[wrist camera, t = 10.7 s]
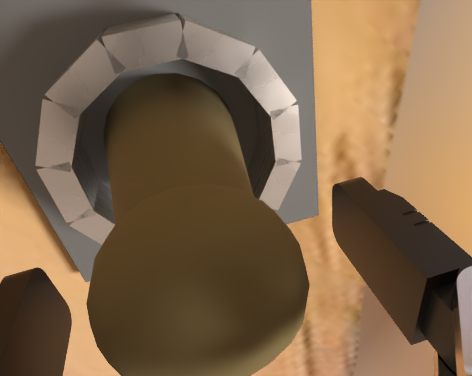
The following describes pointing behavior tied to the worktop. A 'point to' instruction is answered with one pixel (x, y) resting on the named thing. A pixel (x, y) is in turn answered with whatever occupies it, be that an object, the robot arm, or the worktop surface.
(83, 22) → the fitting mat
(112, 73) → the ring collar
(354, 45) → the worktop surface
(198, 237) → the cork
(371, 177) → the worktop surface
